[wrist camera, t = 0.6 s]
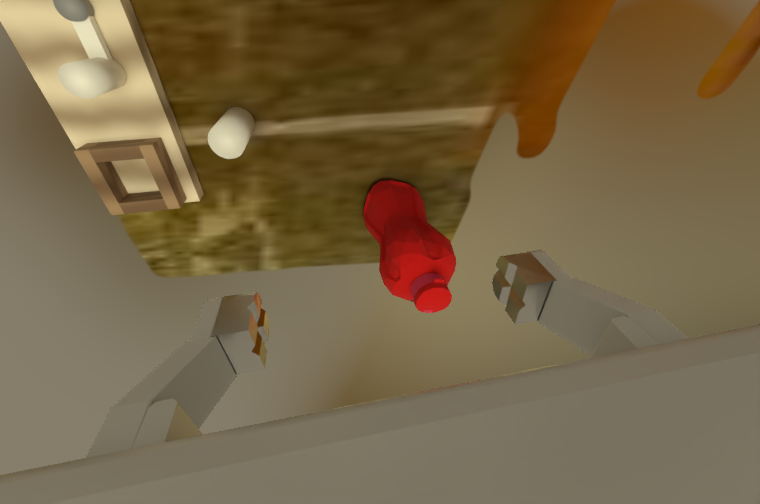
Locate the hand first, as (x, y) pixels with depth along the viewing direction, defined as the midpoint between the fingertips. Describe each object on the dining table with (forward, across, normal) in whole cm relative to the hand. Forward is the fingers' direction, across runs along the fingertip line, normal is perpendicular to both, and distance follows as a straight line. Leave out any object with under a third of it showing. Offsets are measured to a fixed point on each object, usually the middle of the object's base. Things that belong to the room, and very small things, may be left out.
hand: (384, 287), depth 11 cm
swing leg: (+39, +24, -6) cm, 46 cm away
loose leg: (+42, +12, +4) cm, 44 cm away
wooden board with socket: (+42, +26, +1) cm, 49 cm away
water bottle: (+42, -8, +20) cm, 47 cm away
